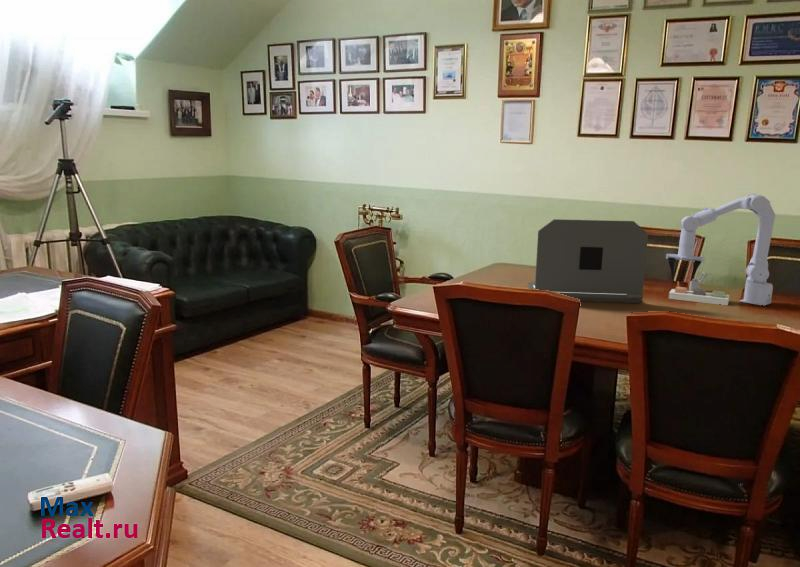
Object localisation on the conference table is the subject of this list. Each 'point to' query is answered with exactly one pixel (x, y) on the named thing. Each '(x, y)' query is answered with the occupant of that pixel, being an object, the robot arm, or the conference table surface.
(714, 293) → the sage button
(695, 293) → the charcoal button
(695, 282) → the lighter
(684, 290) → the terracotta button
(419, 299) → the conference table surface
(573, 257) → the laptop
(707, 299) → the button panel
